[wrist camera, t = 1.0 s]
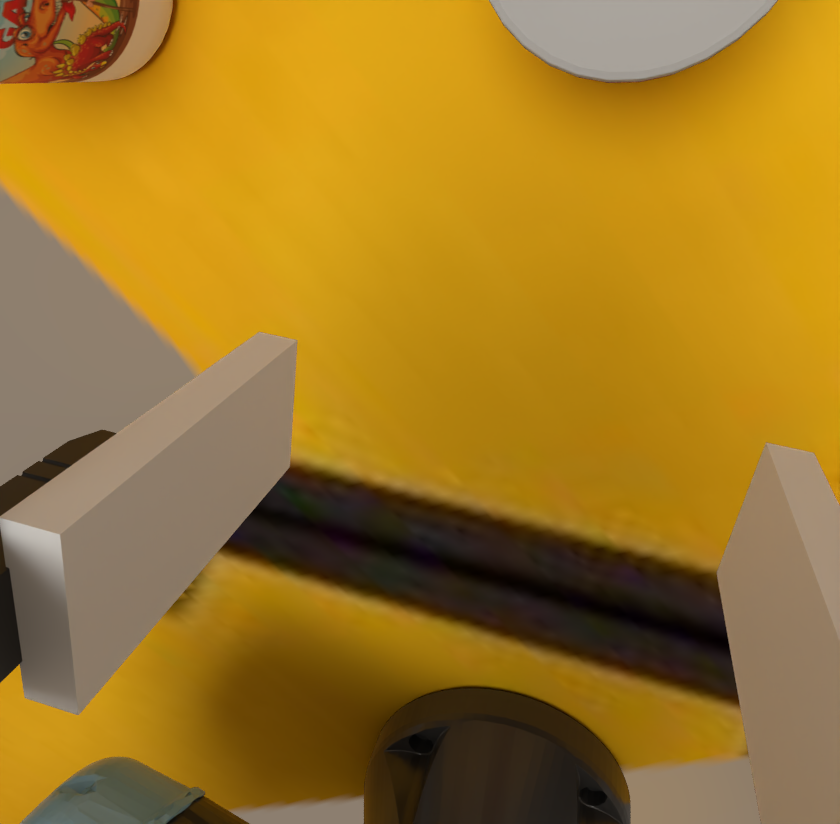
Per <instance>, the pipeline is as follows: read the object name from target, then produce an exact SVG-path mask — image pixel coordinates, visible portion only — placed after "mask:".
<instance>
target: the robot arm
mask: <svg viewBox="0 0 840 824" xmlns="http://www.w3.org/2000/svg"><path fill="white" fill-rule="evenodd" d="M296 354H297V340H294V339H289V338H285V337H280V336H276V335H271V334H266V333H262V332H258V333H257V334H256V335H254V336H253V337H251V338H250V339H249V340H247V341H246V342H244V343H243V344H242V345H240V346H239V347H237V348H236V349H235V350H233V351H232V352H230V353H229V354H228V355H226V356H225V357H223V358H222V359H221V360H219V361H218V362H216V363H215V364H214V365H212V366H211V367H209V368H208V369H207V370H205V371H204V372H202V373H201V374H199V375H198V376H197V377H195V378H194V379H192V380H191V381H190V382H188V383H187V384H185V385H184V386H183V387H181V388H180V389H178V390H177V391H176V392H174V393H173V394H171V395H170V396H169V397H167V398H166V399H164V400H163V401H162V402H160V403H159V404H158V405H156V406H155V407H153V408H152V409H150V410H149V411H148V412H146V413H145V414H143V415H142V416H140V417H139V418H138V419H136V420H135V421H133V422H132V423H131V424H129V425H128V426H126V427H125V428H124V429H122V430H121V431H119V432H118V433H113V432H110V431H106V430H100V431H97V432H94V433H91V434H88V435H85V436H82V437H79V438H76V439H74V440H70V441H68V442H67V443H65V444H64V445H62V446H61V447H59V448H58V449H56V450H55V451H53V452H52V453H50V454H49V455H47V456H46V457H44V458H43V461H42V462H40V461H38V462H36V463H35V464H34V465H32V466H30V467H29V468H27V469H26V470H25V471H23V474H22V476H18V475H17V476H16V477H14V478H12V479H11V480H9V481H8V482H6V483H5V484H3V485H2V486H0V682H1V681H2V680H3V679H4V678H6V677H7V676H8V675H9V674H10V673H11V672H12V671H13V670H14V669H15V668H16V667H17V666H18V665H19V664H20V668H21V675H22V682H23V689H24V696H25V698H27V699H30V700H33V701H36V702H39V703H42V704H46V705H49V706H52V707H55V708H58V709H61V710H64V711H67V712H70V713H73V714H76V715H79V714H80V713H81V712H82V710H83V709H84V708H85V707H86V706H87V705H88V703H89V702H90V701H91V700H92V699H93V698H94V696H95V695H96V694H97V693H98V692H99V690H100V689H101V688H102V687H103V686H104V685H105V683H106V682H107V681H108V680H109V679H110V678H111V676H112V675H113V674H114V673H115V672H116V670H117V669H118V668H119V667H120V666H121V665H122V663H123V662H124V661H125V660H126V659H127V658H128V656H129V655H130V654H131V653H132V652H133V651H134V649H135V648H136V647H137V646H138V645H139V643H140V642H141V641H142V640H143V639H144V638H145V636H146V635H147V634H148V633H149V632H150V631H151V629H152V628H153V627H154V626H155V625H156V623H157V622H158V621H159V620H160V619H161V618H162V616H163V615H164V614H165V613H166V612H167V611H168V609H169V608H170V607H171V606H172V605H173V603H174V602H175V601H176V600H177V599H178V598H179V596H180V595H181V594H182V593H183V592H184V591H185V589H186V588H187V587H188V586H189V585H190V584H191V582H192V581H193V580H194V579H195V578H196V576H197V575H198V574H199V573H200V572H201V571H202V569H203V568H204V567H205V566H206V565H207V564H208V562H209V561H210V560H211V559H212V558H213V556H214V555H215V554H216V553H217V552H218V551H219V549H220V548H221V547H222V546H223V545H224V544H225V542H226V541H227V540H228V539H229V538H230V537H231V535H232V534H233V533H234V532H235V531H236V529H237V528H238V527H239V526H240V525H241V524H242V522H243V521H244V520H245V519H246V518H247V517H248V515H249V514H250V513H251V512H252V511H253V509H254V508H255V507H256V506H257V505H258V504H259V502H260V501H261V500H262V499H263V498H264V497H265V495H266V494H267V493H268V492H269V491H270V489H271V488H272V487H273V486H274V485H275V484H276V482H277V481H278V480H279V479H280V478H281V477H282V475H283V474H284V473H285V472H286V471H287V470H288V468H289V467H290V455H291V438H292V421H293V404H294V387H295V371H296ZM717 578H718V584H719V589H720V595H721V601H722V606H723V612H724V618H725V623H726V629H727V634H728V640H729V646H730V651H731V657H732V663H733V668H734V674H735V680H736V685H737V691H738V697H739V702H740V708H741V714H742V719H743V725H744V731H745V736H746V742H747V748H748V753H749V759H750V765H751V770H752V776H753V781H754V787H755V793H756V798H757V804H758V810H759V815H760V821H761V824H840V506H839V504H838V502H837V500H836V498H835V495H834V493H833V491H832V489H831V487H830V485H829V483H828V481H827V479H826V477H825V475H824V473H823V471H822V469H821V467H820V465H819V463H818V460H817V458H816V456H815V454H814V453H812V452H807V451H803V450H798V449H793V448H789V447H784V446H780V445H775V444H770V443H766V444H765V447H764V449H763V452H762V455H761V457H760V460H759V462H758V465H757V468H756V470H755V473H754V476H753V478H752V481H751V484H750V486H749V489H748V491H747V494H746V497H745V499H744V502H743V505H742V507H741V510H740V513H739V515H738V518H737V520H736V523H735V526H734V528H733V531H732V534H731V536H730V539H729V542H728V544H727V547H726V550H725V552H724V555H723V557H722V560H721V563H720V565H719V568H718V571H717ZM204 795H205V791H203V790H201V789H200V788H199V787H193V788H188V787H186V786H185V785H183V784H181V783H179V782H177V781H175V780H173V779H171V778H169V777H167V776H165V775H164V774H162V773H160V772H158V771H156V770H154V769H152V768H150V767H148V766H146V765H145V764H143V763H141V762H139V761H137V760H134V759H131V758H127V757H110V758H105V759H102V760H99V761H96V762H94V763H92V764H90V765H88V766H86V767H85V768H83V769H81V770H80V771H78V772H77V773H75V774H74V775H73V776H71V777H70V778H69V779H67V780H66V781H65V782H64V783H63V784H61V785H60V786H59V787H58V788H57V789H56V790H54V791H53V792H52V793H51V794H50V795H49V796H48V797H47V798H46V799H45V800H44V801H42V802H41V803H40V804H39V805H38V806H37V807H36V808H35V809H34V810H33V811H32V812H31V813H30V814H29V815H28V816H27V817H26V818H25V819H24V820H23V821H22V822H21V823H20V824H249V823H248V822H246V821H244V820H243V819H241V818H239V817H238V816H236V815H234V814H233V813H231V812H229V811H228V810H226V809H224V808H223V807H221V806H219V805H218V804H216V803H214V802H213V801H211V800H209V799H208V798H206V797H204ZM364 824H630V795H629V790H628V786H627V783H626V780H625V778H624V775H623V773H622V771H621V769H620V767H619V765H618V764H617V762H616V761H615V759H614V758H613V756H612V755H611V753H610V752H609V751H608V750H607V748H606V747H605V746H604V745H603V744H602V743H601V742H600V741H599V740H598V739H597V738H596V737H595V736H594V735H593V734H592V733H591V732H590V731H588V730H587V729H586V728H585V727H583V726H582V725H581V724H579V723H578V722H576V721H575V720H573V719H572V718H570V717H569V716H567V715H565V714H564V713H562V712H560V711H558V710H556V709H554V708H552V707H550V706H548V705H546V704H544V703H541V702H539V701H536V700H533V699H531V698H527V697H524V696H521V695H517V694H513V693H509V692H504V691H499V690H492V689H480V688H463V689H451V690H445V691H440V692H436V693H432V694H429V695H426V696H423V697H421V698H418V699H416V700H414V701H412V702H410V703H409V704H407V705H405V706H404V707H402V708H401V709H400V710H398V711H397V712H396V713H395V714H394V715H393V716H392V717H391V718H390V719H389V720H388V722H387V723H386V724H385V726H384V727H383V729H382V731H381V733H380V735H379V737H378V740H377V742H376V745H375V748H374V751H373V753H372V756H371V759H370V761H369V764H368V768H367V772H366V777H365V784H364Z"/></svg>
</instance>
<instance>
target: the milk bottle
mask: <svg viewBox="0 0 840 824" xmlns="http://www.w3.org/2000/svg"><path fill="white" fill-rule="evenodd" d="M172 10H173V0H0V84H5V83H60V82H97V81H109V80H116V79H120V78H123V77H126V76H128V75H130V74H132V73H134V72H135V71H137V70H138V69H140V68H141V67H142V66H144V65H145V64H146V63H147V62H148V61H149V60H150V58H151V57H152V56H153V55H154V53H155V52H156V50H157V49H158V48H159V46H160V45H161V43H162V41H163V39H164V36H165V34H166V32H167V30H168V27H169V23H170V18H171V14H172Z"/></svg>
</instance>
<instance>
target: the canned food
mask: <svg viewBox="0 0 840 824" xmlns="http://www.w3.org/2000/svg"><path fill="white" fill-rule="evenodd" d="M489 1H490V3H491V5H492V6H493V8H494V10H495V11H496V13H497V15H498V16H499V18H500V20H501V21H502V23H503V25H504V26H505V27H506V28H507V29H508V30H509V32H510V33H511V34H512V35H513V36H514V37H515V38H516V39H517V40H518V41H519V42H520V44H521V45H522V46H523V47H524V48H525V49H527V50H528V51H530V52H531V53H532V54H534V55H535V56H537V57H538V58H540V59H541V60H542V61H544V62H545V63H547V64H548V65H550V66H552V67H555V68H557V69H559V70H562V71H564V72H567V73H569V74H572V75H574V76H576V77H579V78H585V79H590V80H596V81H601V82H607V83H621V82H642V81H646V80H651V79H655V78H660V77H664V76H669V75H672V74H675V73H677V72H680V71H682V70H684V69H687V68H689V67H692V66H694V65H696V64H699V63H701V62H703V61H706V60H707V59H709V58H711V57H712V56H714V55H715V54H717V53H718V52H720V51H721V50H723V49H725V48H726V47H728V46H729V45H731V44H732V43H734V42H736V41H737V40H738V39H739V38H741V37H742V36H743V35H744V34H745V33H746V32H747V31H748V30H749V29H751V28H752V27H753V26H754V25H755V24H756V23H757V22H758V21H759V20H761V19H762V18H763V17H764V16H765V15H766V14H767V13H768V12H769V11H770V9H771V8H772V7H773V6H774V4H775V3H776V2H777V1H778V0H489Z"/></svg>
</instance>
